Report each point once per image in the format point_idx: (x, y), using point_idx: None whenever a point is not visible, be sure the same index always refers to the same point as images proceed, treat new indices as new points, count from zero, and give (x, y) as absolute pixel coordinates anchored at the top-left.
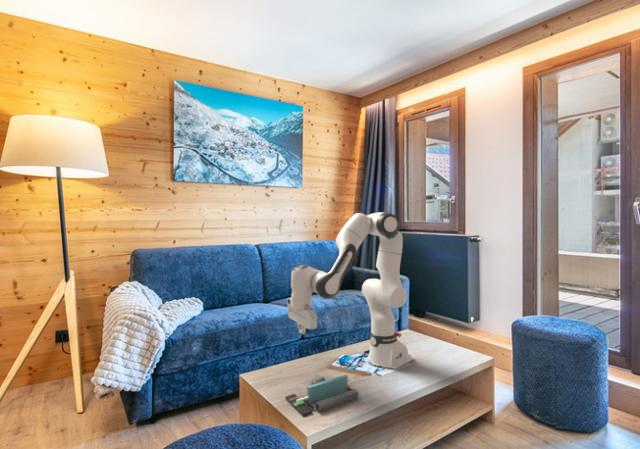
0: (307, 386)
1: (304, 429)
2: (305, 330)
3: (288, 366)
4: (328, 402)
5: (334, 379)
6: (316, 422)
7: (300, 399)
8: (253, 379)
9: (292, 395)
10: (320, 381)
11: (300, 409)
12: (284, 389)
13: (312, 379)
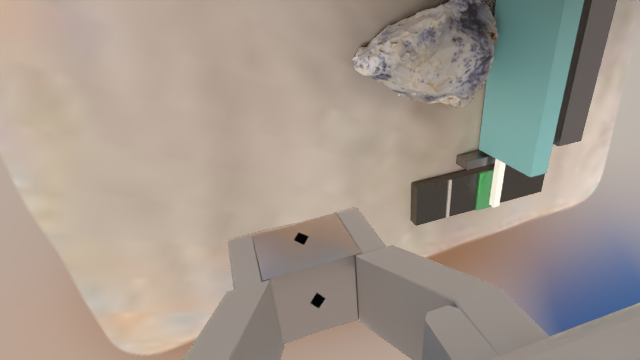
0: (532, 176)
1: (577, 198)
2: (377, 238)
3: (55, 130)
4: (589, 94)
5: (576, 4)
6: (580, 155)
7: (500, 191)
8: (188, 321)
9: (424, 198)
10: (488, 72)
11: (517, 193)
12: (340, 210)
13: (374, 73)
